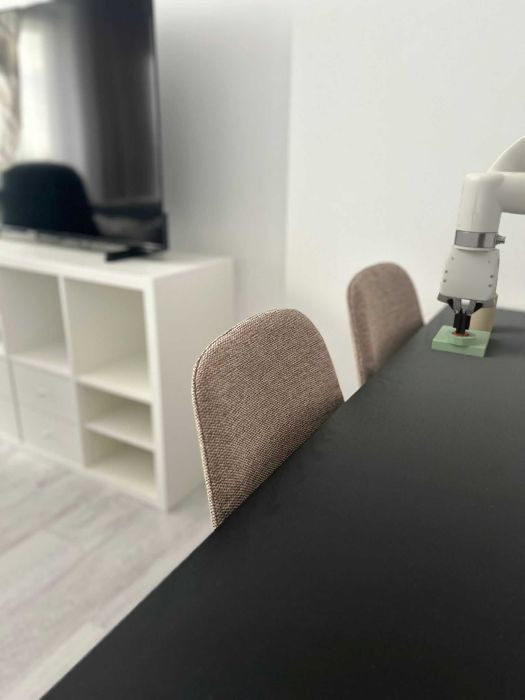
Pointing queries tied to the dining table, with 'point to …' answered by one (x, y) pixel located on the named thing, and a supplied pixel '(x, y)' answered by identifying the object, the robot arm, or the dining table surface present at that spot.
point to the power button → (461, 334)
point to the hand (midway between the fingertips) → (460, 332)
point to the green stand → (461, 341)
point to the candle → (484, 318)
